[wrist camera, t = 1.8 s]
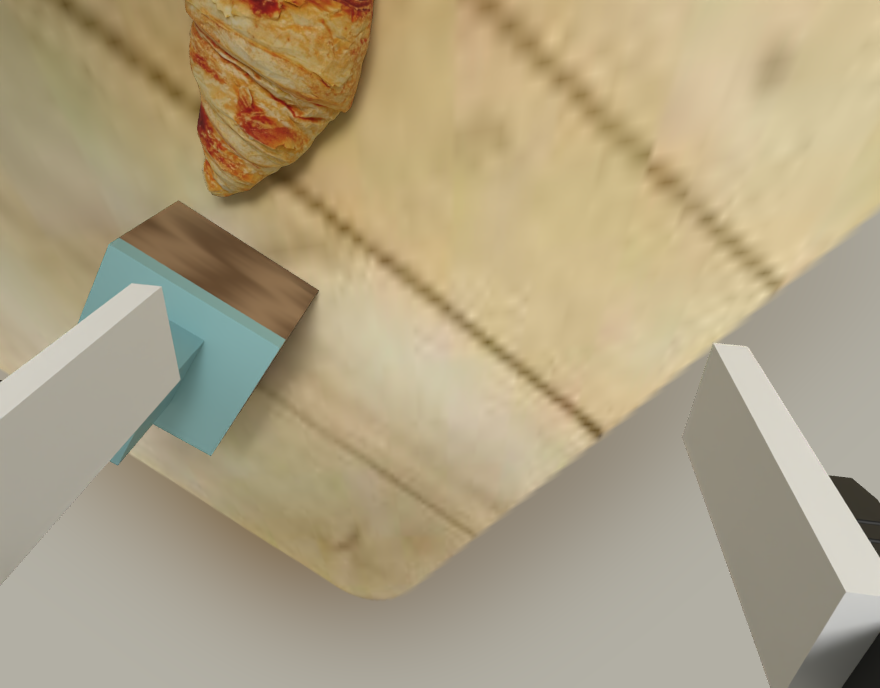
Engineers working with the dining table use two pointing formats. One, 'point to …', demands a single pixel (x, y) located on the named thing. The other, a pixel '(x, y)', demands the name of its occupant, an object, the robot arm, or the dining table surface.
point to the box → (224, 268)
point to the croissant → (271, 80)
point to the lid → (192, 349)
